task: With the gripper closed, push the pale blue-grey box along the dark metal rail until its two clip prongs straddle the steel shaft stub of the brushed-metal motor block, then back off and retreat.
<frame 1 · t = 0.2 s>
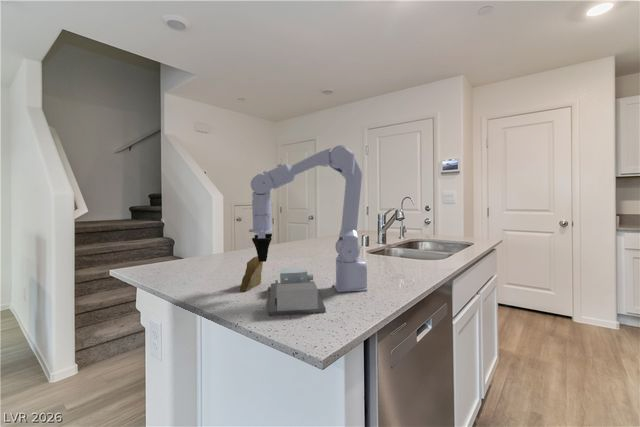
hand: (263, 258, 94), 10 cm above the countertop, fingers open, 7 cm apart
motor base: (293, 290, 94), on the countertop
pale blue-grey box: (296, 279, 93), point 4 cm above the countertop, slide at 0.0 cm
rock: (249, 287, 99), on the countertop
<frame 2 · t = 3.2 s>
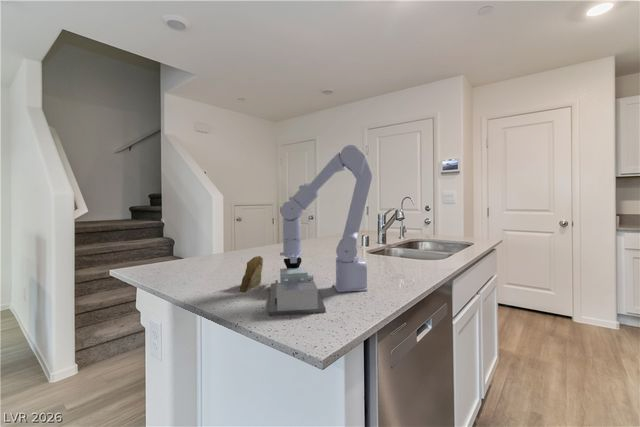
hand: (292, 280, 99), 2 cm above the countertop, fingers closed
pale blue-grey box: (297, 279, 92), point 4 cm above the countertop, slide at 0.8 cm, touching gripper
everything else where it was.
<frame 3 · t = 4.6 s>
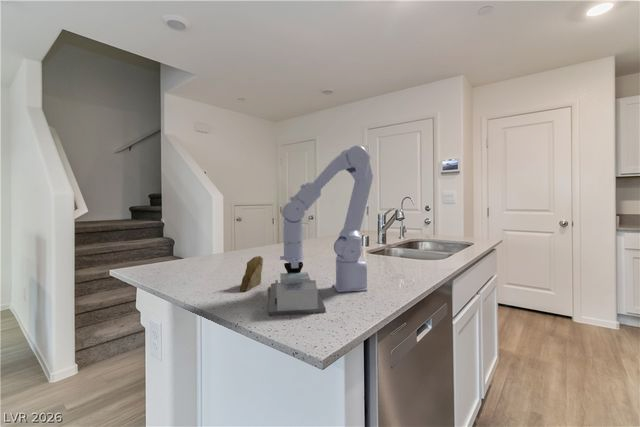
hand: (293, 286, 92), 2 cm above the countertop, fingers closed
pale blue-grey box: (298, 285, 86), point 4 cm above the countertop, slide at 6.9 cm, touching gripper
everything else where it was.
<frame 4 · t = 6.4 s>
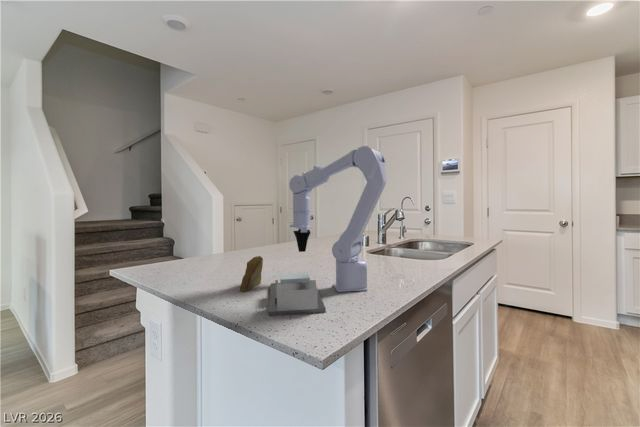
hand: (302, 251, 104), 10 cm above the countertop, fingers closed
pale blue-grey box: (298, 285, 86), point 4 cm above the countertop, slide at 6.8 cm
everything else where it was.
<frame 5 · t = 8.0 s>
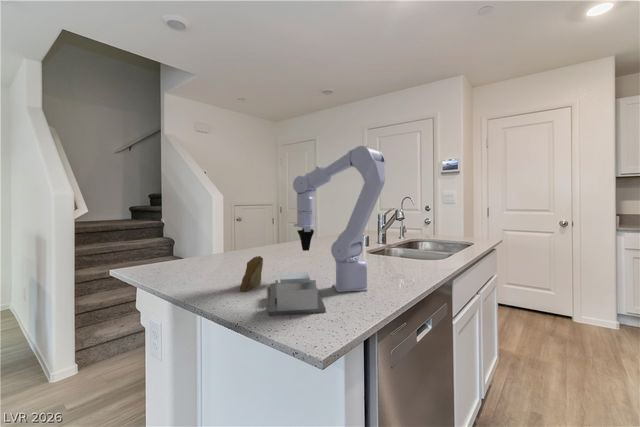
hand: (305, 250, 106), 10 cm above the countertop, fingers closed
nothing on the countertop moved.
at the end: pale blue-grey box slide at 6.8 cm; the gripper is holding nothing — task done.
